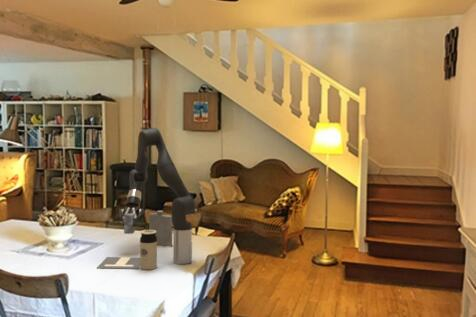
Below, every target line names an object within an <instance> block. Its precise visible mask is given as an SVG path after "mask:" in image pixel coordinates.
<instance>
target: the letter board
mask: <svg viewBox="0 0 476 317" xmlns="http://www.w3.org/2000/svg"><path fill="white" fill-rule="evenodd" d="M139 268H140V256H139V257H135V256H134V257H131V256H130V257H128V256H127V257H125V256H106V258H105V259H104V260H103V261H102V262H101V263H100V264H99V265H98V266H96V269H97V270H98V269H99V270H100V269H103V270H104V269H106V270H108V269H109V270H113V269H114V270H138V269H139Z"/></svg>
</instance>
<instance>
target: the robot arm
mask: <svg viewBox="0 0 476 317" xmlns="http://www.w3.org/2000/svg"><path fill="white" fill-rule="evenodd" d="M137 139H138V140H137V156H136V160H135V163H134V165H135V166H134V168H133V169H131V170H130V172H129V175H128V177H129V178H128V179H129V189H128V194H127V197H126V200H125V201H126V202H125V206H124V208H118V214H119V219H120V220H121V221H122V222H121V226H122V227H123V228H124V215H125V214H127V213H133V214H134V219H133V224H132V226H133V227H134V226H135V227H136V224H137V221H140V220H141V219H142V217H143V215H144V213H145V210H144V208H140V207H141V201H142V192H143V184H145V183H146V182H147V181H148V178H149V176H148V168H149V167H148V166H149V164H150V157H149V155H148V153H147V151H146V149H147V148H149V147H153V146H155V148H156V149H157V150H156V151H157V153H158V156H157V160H156V170H157V172H158V174H159V177H160V178H161V180H162V182H163V183H164V184H165V185H166V186H168V187H169V188H170V189H171V190H172V191H173V192H174V193H175V195H176V196H177V197H176V198H175V199H173V201H171V216H172V227H173V244H172V246H173V247H172V248H173V258H172V259H173V263H174V264H176V265H177V264H178V265H187V264H191V263H192V260H193V242H192V240H193V238H192V237H193V234H192V231H193V230H192V228H193V224H192V222H191V221H187V216H188V215H191V214H193V213H194V212H195V210H196V203H195V200H194V198H193V197H192V195H191V193H190V192H189V191H188V189H187V187H186V186H185V183H184V182H183V180H182V178H181V175H180V174H179V172H178V170H177V167H176V166H175V164H174V162H173V159H172V157H171V155H170V153H169V151H168V149H167V147H166V144H165V140H164V138H163V136H162V134H161V131H160V130H159V129H158V128H157V127H152V128H146V129H143V130H141V131H139V133H138V138H137ZM138 213H139V214H138ZM137 214H138V215H137Z"/></svg>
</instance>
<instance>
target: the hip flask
mask: <svg viewBox="0 0 476 317" xmlns="http://www.w3.org/2000/svg"><path fill="white" fill-rule="evenodd" d="M163 213H164V211H163V210H157V211H156V212H154V213H153V212H150V213H149V215H148V216H149V227H148V228H149V229H148V230H155V231H156V234H155V235H156V237H157V246H159V245H160V247H166V246H171V247H172V246H173V223H172V215H169V214H168V215H167V214H163Z"/></svg>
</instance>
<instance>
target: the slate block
mask: <svg viewBox="0 0 476 317" xmlns="http://www.w3.org/2000/svg"><path fill="white" fill-rule="evenodd" d="M124 214H125V213H124ZM124 214H123V216H124V227H123V233H124V234H125V235H126V234H127V235H132V234H134V233H135V230H136V229H135V227H136V225H135V226H134V227H133V226H132V224H133V219H134V214H133V213H127V214H125V215H124Z"/></svg>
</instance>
